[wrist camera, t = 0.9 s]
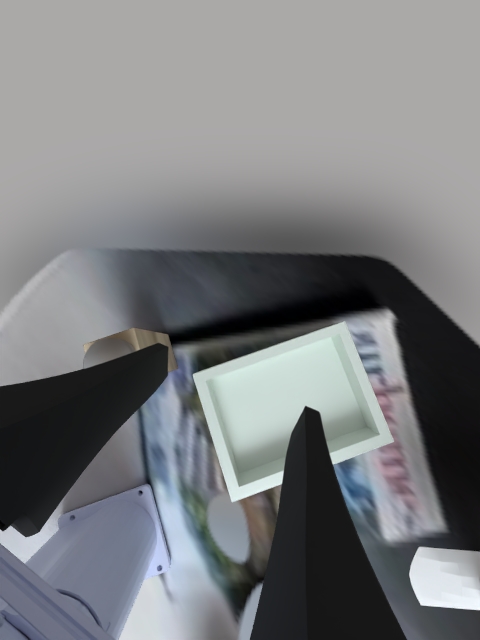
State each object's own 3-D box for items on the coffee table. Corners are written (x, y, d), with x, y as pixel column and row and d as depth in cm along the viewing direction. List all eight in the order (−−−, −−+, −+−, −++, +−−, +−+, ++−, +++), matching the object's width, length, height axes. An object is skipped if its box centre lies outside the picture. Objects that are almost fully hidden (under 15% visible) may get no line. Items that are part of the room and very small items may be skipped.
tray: (233, 483, 23) (232, 502, 20) (198, 371, 24) (192, 374, 22) (376, 430, 23) (394, 441, 21) (333, 324, 25) (344, 321, 22)
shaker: (143, 380, 24) (86, 399, 15) (133, 346, 25) (73, 344, 16) (178, 368, 24) (141, 379, 16) (167, 334, 25) (126, 326, 16)
